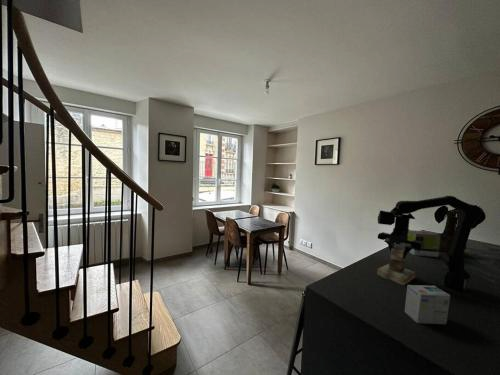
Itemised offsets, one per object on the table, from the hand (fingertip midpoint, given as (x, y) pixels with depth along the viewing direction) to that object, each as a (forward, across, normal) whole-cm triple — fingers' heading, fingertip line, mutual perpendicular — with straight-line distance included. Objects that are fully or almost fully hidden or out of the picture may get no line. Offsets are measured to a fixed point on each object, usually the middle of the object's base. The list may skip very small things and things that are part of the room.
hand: (398, 257), depth 110 cm
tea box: (+10, -4, +55) cm, 56 cm away
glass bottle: (+10, +5, +78) cm, 79 cm away
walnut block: (+7, 0, 0) cm, 7 cm away
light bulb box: (+10, +19, -28) cm, 35 cm away
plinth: (+10, 0, 0) cm, 10 cm away
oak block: (+1, 0, 0) cm, 1 cm away
